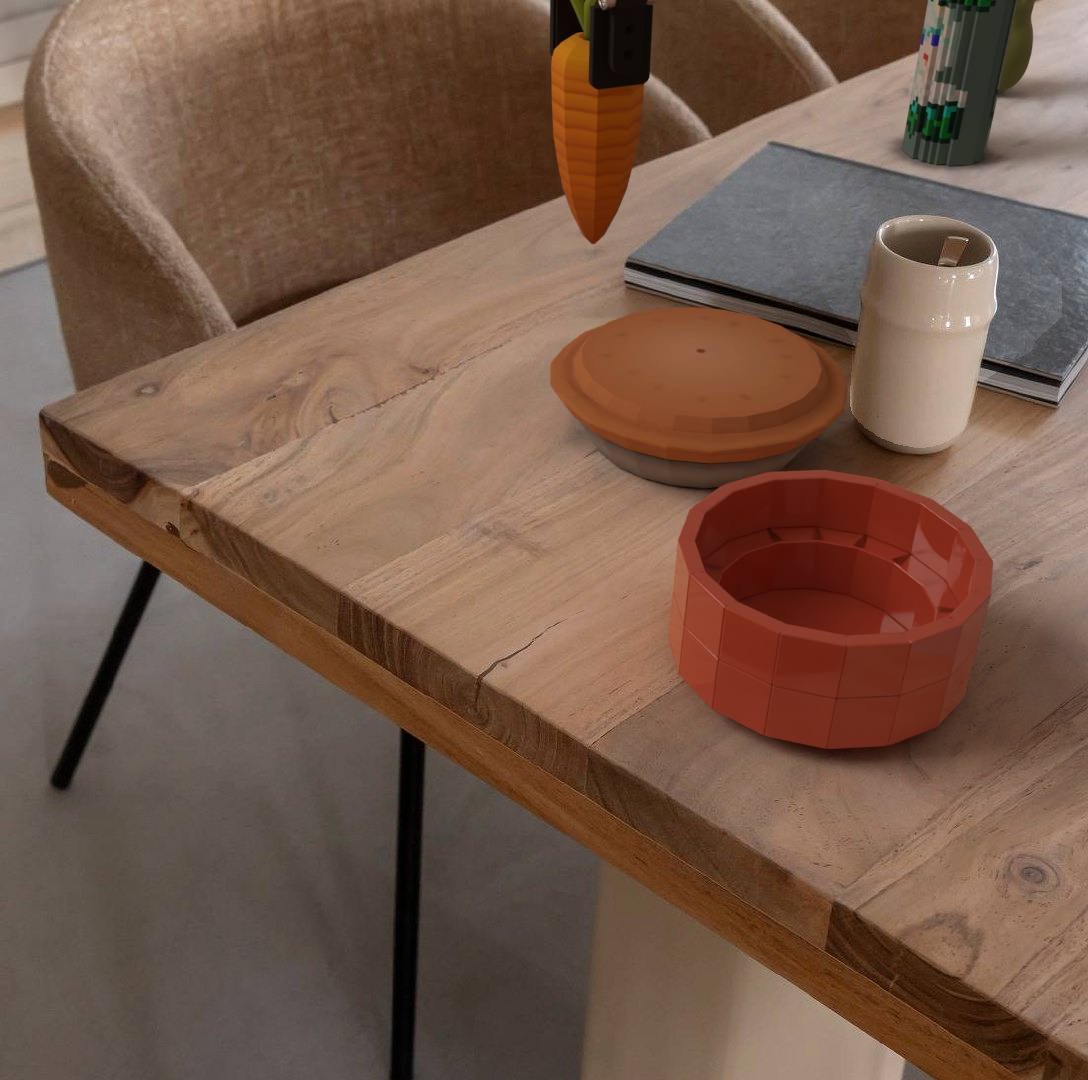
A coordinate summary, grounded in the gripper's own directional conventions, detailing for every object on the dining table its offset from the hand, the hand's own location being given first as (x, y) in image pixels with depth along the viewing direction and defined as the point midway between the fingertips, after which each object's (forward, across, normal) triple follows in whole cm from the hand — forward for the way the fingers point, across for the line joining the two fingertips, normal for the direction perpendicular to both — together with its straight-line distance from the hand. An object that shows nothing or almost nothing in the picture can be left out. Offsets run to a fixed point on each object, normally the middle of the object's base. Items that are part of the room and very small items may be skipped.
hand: (598, 66), depth 76 cm
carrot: (+10, 0, 0) cm, 10 cm away
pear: (+17, +35, -52) cm, 65 cm away
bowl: (+17, -31, +2) cm, 35 cm away
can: (+17, +23, -40) cm, 49 cm away
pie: (+17, -11, -1) cm, 20 cm away
